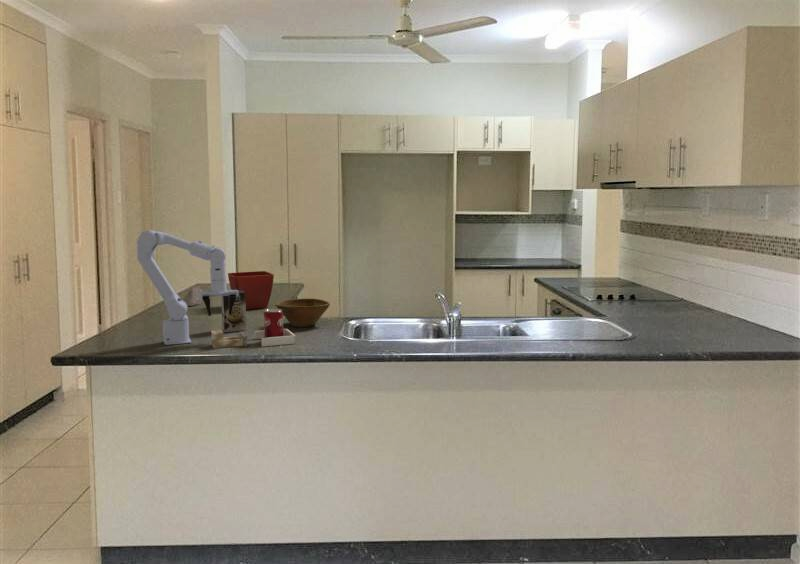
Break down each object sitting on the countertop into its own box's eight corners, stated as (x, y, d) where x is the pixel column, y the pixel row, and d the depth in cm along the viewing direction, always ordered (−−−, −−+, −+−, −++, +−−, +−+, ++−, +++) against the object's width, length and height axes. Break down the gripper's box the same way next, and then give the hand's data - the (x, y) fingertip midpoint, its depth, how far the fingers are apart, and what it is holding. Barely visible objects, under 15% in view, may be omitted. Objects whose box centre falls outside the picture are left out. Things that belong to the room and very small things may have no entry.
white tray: (262, 346, 252) (261, 338, 252) (254, 338, 266) (254, 331, 265) (296, 343, 257) (295, 335, 257) (287, 336, 271) (286, 328, 270)
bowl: (321, 331, 280) (320, 307, 279) (268, 329, 285) (267, 305, 283) (336, 321, 301) (336, 299, 300) (287, 319, 306) (286, 297, 305)
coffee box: (224, 332, 278) (222, 293, 276) (222, 329, 284) (220, 291, 282) (246, 330, 282) (245, 292, 280) (244, 327, 288) (243, 289, 286)
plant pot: (228, 305, 344) (227, 272, 342) (265, 303, 352) (264, 270, 350) (236, 311, 327) (235, 276, 325) (275, 308, 335) (274, 274, 333)
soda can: (264, 343, 257) (263, 312, 256) (264, 339, 264) (263, 309, 263) (283, 342, 258) (283, 311, 257) (283, 338, 266) (282, 308, 264)
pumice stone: (193, 302, 356) (192, 283, 354) (206, 302, 354) (206, 283, 353) (177, 307, 341) (176, 287, 340) (191, 307, 339) (190, 287, 338)
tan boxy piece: (214, 349, 249) (213, 334, 248) (211, 344, 257) (210, 329, 256) (247, 346, 253) (246, 331, 252) (242, 341, 261) (242, 327, 261)
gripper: (199, 282, 254) (201, 318, 256) (239, 280, 260) (240, 315, 261) (197, 279, 261) (199, 314, 262) (236, 277, 266) (237, 312, 268)
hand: (219, 314), depth 262 cm, fingers open, 7 cm apart
